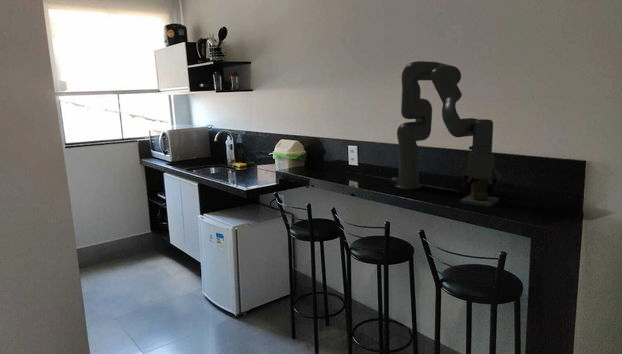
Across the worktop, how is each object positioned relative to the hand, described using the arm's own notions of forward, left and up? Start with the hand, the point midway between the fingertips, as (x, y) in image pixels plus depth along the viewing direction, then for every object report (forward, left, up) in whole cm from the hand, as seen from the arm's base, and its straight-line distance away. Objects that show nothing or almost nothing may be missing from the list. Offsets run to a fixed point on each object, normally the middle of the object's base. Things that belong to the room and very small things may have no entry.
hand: (480, 191), depth 183 cm
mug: (-8, +11, -4) cm, 15 cm away
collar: (0, 0, -2) cm, 2 cm away
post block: (0, 0, -4) cm, 4 cm away
